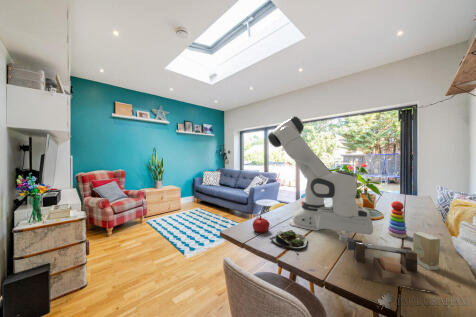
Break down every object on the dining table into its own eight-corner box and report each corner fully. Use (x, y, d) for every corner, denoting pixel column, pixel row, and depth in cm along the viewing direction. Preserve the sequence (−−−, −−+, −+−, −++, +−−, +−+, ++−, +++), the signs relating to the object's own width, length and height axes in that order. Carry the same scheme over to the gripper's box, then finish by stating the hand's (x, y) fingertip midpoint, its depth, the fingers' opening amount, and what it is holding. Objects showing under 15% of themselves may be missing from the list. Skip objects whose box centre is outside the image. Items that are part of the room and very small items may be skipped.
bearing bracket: (361, 278, 63) (361, 256, 63) (352, 257, 76) (352, 239, 76) (436, 293, 56) (436, 269, 56) (411, 267, 69) (411, 247, 69)
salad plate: (278, 230, 105) (278, 222, 105) (309, 236, 97) (309, 228, 97) (267, 244, 88) (267, 235, 88) (304, 254, 80) (304, 244, 80)
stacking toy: (411, 239, 92) (411, 203, 91) (393, 238, 93) (393, 203, 93) (400, 232, 99) (400, 200, 99) (384, 231, 101) (384, 199, 101)
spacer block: (384, 276, 63) (384, 262, 63) (380, 268, 67) (380, 255, 67) (400, 279, 61) (400, 265, 61) (394, 271, 65) (394, 258, 65)
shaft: (348, 249, 73) (348, 240, 73) (346, 245, 76) (346, 237, 76) (414, 260, 65) (415, 250, 65) (409, 255, 68) (409, 246, 68)
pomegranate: (264, 236, 98) (264, 219, 97) (249, 231, 104) (249, 216, 103) (272, 229, 106) (272, 214, 105) (258, 225, 112) (258, 211, 111)
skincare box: (412, 260, 73) (412, 231, 73) (421, 260, 74) (421, 231, 73) (430, 270, 67) (430, 239, 67) (440, 270, 67) (440, 238, 67)
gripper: (317, 208, 76) (317, 239, 76) (375, 214, 68) (374, 248, 69) (316, 204, 82) (316, 233, 82) (369, 209, 74) (368, 241, 75)
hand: (343, 240), depth 75 cm, fingers closed
